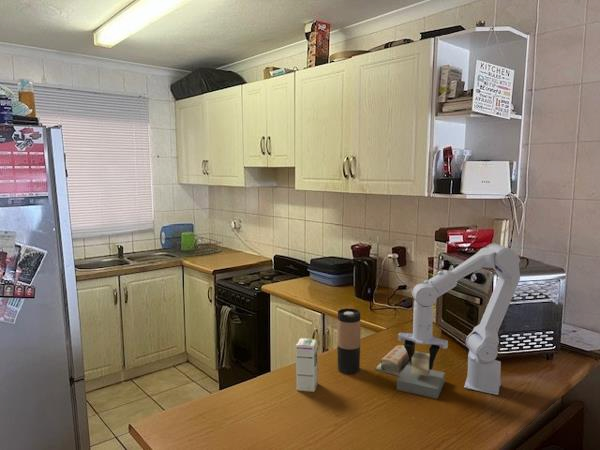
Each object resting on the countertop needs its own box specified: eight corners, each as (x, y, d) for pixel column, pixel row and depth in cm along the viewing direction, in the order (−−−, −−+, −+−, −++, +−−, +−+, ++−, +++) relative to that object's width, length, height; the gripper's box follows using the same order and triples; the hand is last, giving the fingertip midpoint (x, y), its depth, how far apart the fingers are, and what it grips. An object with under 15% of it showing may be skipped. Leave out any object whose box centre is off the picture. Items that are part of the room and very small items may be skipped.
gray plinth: (444, 381, 136) (445, 372, 135) (437, 398, 125) (437, 389, 125) (406, 373, 141) (406, 364, 141) (396, 389, 131) (396, 380, 130)
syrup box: (314, 392, 129) (314, 345, 128) (295, 390, 131) (295, 344, 129) (317, 383, 135) (317, 338, 133) (299, 381, 136) (299, 337, 135)
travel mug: (345, 362, 150) (345, 306, 148) (364, 368, 145) (365, 311, 143) (332, 370, 144) (332, 312, 142) (352, 377, 139) (352, 317, 137)
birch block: (431, 369, 134) (431, 354, 133) (428, 376, 129) (428, 360, 129) (415, 366, 136) (415, 351, 135) (411, 372, 132) (411, 357, 131)
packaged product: (403, 364, 138) (374, 357, 144) (403, 378, 139) (374, 371, 144) (421, 345, 153) (394, 340, 159) (421, 358, 154) (394, 352, 159)
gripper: (395, 323, 131) (394, 366, 132) (445, 331, 124) (443, 376, 126) (401, 317, 137) (400, 358, 139) (449, 324, 130) (447, 367, 132)
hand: (421, 366), depth 133 cm, fingers closed on birch block, 5 cm apart
